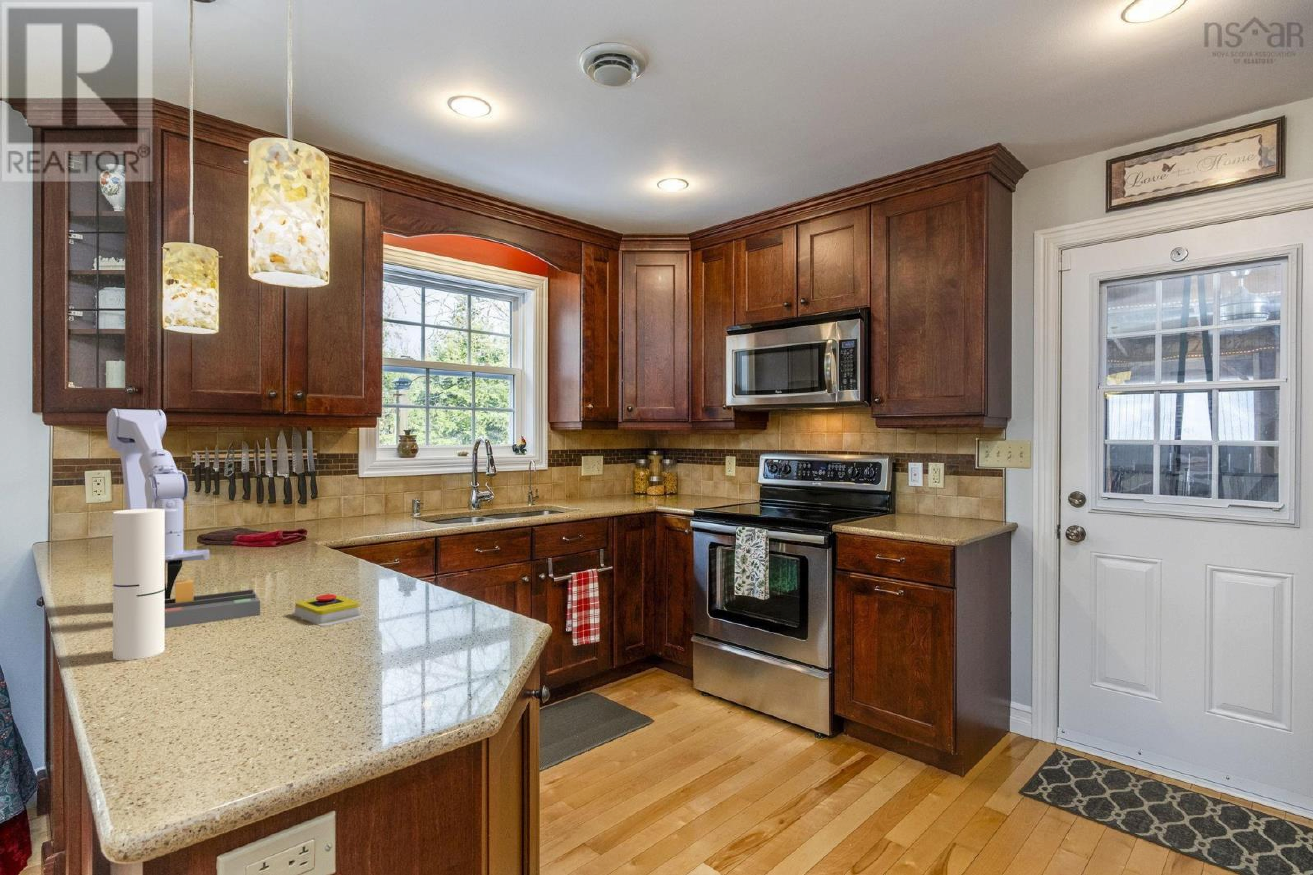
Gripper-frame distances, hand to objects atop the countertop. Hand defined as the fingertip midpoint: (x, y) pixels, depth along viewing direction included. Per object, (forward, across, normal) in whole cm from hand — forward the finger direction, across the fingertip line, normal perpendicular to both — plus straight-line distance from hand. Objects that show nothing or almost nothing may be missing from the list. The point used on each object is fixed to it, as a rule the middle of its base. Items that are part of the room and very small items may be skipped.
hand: (166, 598), depth 137 cm
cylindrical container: (+5, -4, -22) cm, 23 cm away
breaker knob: (+1, +3, 0) cm, 3 cm away
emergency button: (+5, +28, -14) cm, 32 cm away
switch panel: (+5, +7, 0) cm, 8 cm away
